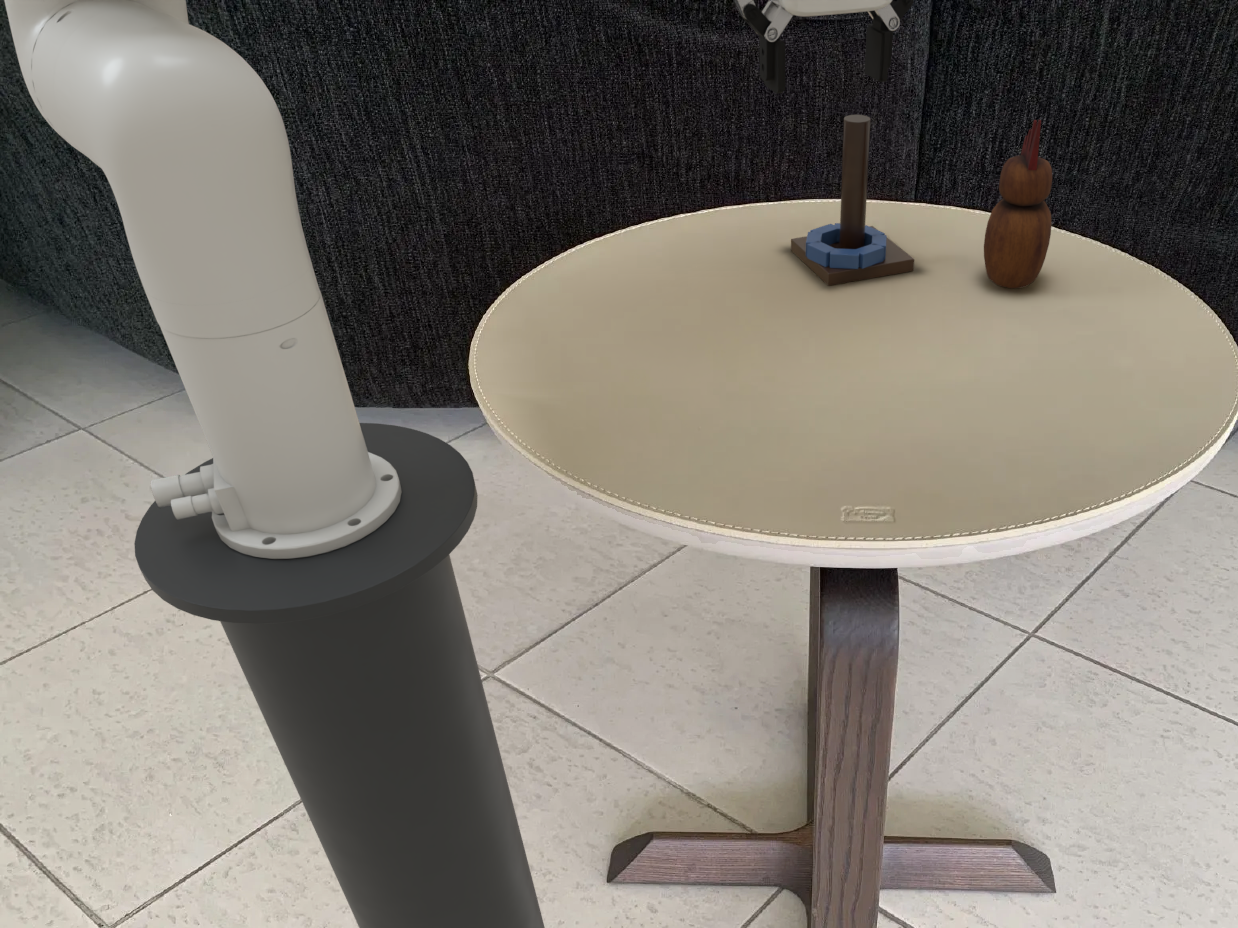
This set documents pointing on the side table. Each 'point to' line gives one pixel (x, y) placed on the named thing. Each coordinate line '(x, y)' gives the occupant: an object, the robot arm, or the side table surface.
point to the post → (855, 213)
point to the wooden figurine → (1020, 218)
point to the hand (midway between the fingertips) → (825, 83)
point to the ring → (845, 258)
